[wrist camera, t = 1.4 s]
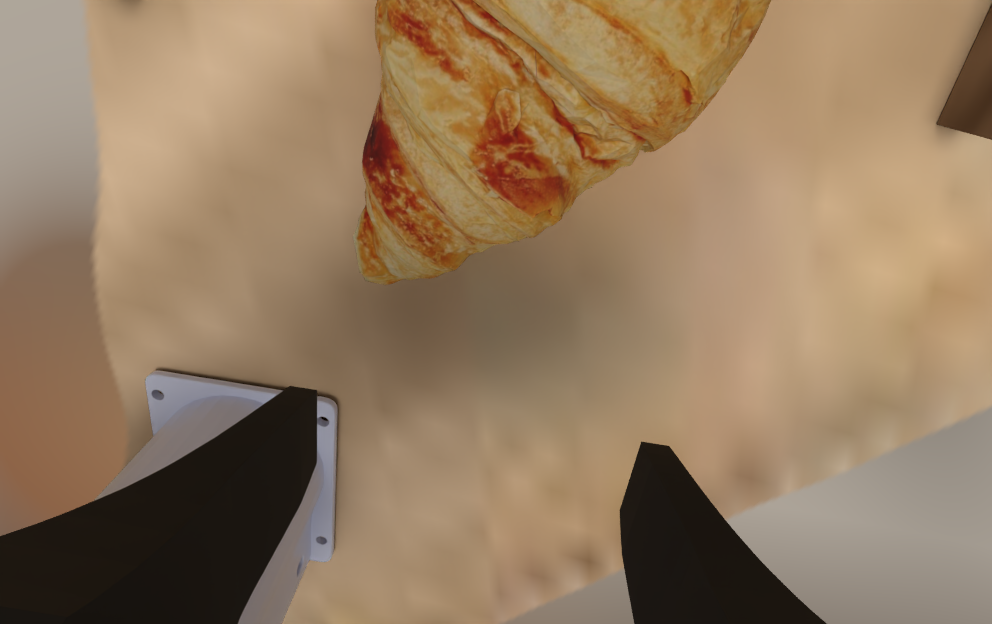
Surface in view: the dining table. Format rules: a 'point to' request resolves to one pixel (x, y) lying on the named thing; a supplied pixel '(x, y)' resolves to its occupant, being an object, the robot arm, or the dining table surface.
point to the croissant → (524, 113)
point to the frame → (973, 89)
